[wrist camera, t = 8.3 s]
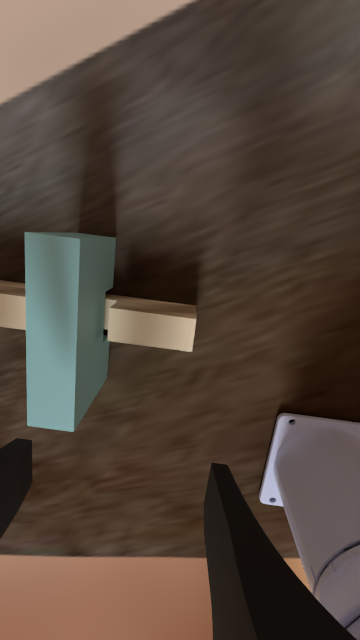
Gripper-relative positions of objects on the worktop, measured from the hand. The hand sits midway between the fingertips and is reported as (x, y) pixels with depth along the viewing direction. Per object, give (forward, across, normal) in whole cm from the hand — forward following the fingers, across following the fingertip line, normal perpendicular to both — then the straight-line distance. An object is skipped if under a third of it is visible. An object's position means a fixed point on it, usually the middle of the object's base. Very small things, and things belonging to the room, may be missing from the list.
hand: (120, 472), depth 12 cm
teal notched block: (+10, +4, -4) cm, 12 cm away
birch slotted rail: (+10, +4, -4) cm, 12 cm away
